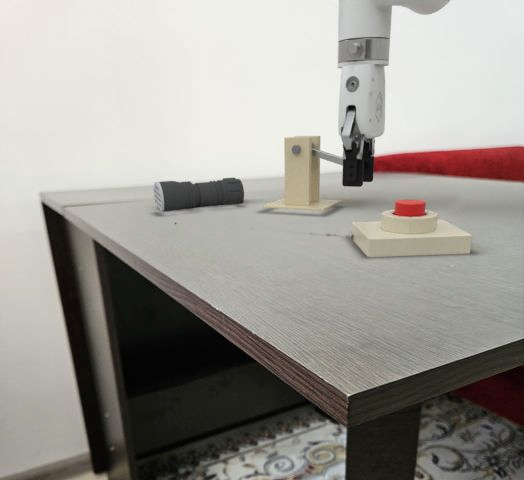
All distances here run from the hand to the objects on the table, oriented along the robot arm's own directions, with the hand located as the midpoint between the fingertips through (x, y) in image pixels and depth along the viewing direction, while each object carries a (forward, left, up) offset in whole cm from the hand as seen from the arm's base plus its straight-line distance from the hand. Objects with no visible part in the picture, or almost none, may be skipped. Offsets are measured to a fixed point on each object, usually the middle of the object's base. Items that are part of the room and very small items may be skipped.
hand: (358, 182), depth 84 cm
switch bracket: (+9, -5, -5) cm, 11 cm away
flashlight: (+26, -8, -5) cm, 28 cm away
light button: (-1, +23, -1) cm, 23 cm away
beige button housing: (-1, +23, -5) cm, 24 cm away
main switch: (+5, -3, +3) cm, 6 cm away
